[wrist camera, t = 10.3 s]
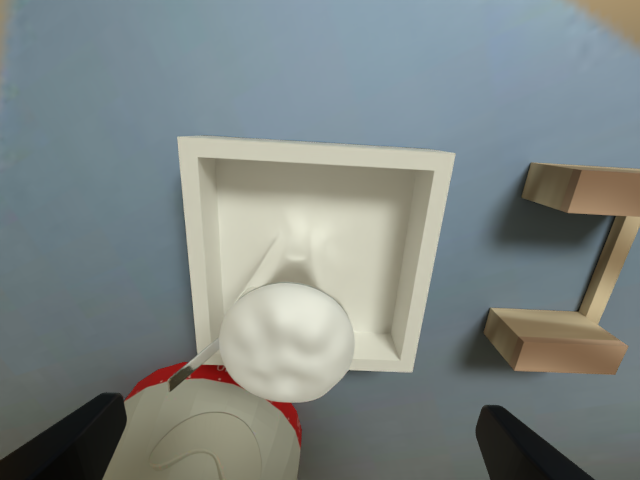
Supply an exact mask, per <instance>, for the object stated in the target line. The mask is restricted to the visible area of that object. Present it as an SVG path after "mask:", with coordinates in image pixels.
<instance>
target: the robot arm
mask: <svg viewBox="0 0 640 480" xmlns="http://www.w3.org/2000/svg"><path fill="white" fill-rule="evenodd" d="M126 424H127V414H126V409H125V405H124V400H123V396H122V395H121V394H120V393H102V394H100V395H98V396H97V397H95V398H94V399H92V400H91V401H89V402H88V403H86V404H85V405H83V406H82V407H80V408H79V409H77V410H75V411H74V412H72V413H71V414H69V415H68V416H66V417H65V418H63V419H62V420H60V421H59V422H57V423H56V424H54V425H53V426H51V427H50V428H48V429H47V430H45V431H44V432H42V433H41V434H39V435H38V436H36V437H35V438H33V439H32V440H30V441H29V442H27V443H26V444H24V445H23V446H21V447H20V448H18V449H17V450H15V451H14V452H12V453H10V454H9V455H7V456H6V457H4V458H3V459H1V460H0V480H102V479H103V477H104V475H105V473H106V470H107V468H108V466H109V464H110V461H111V459H112V457H113V455H114V452H115V450H116V448H117V446H118V443H119V441H120V439H121V437H122V434H123V432H124V430H125V427H126ZM476 438H477V441H478V444H479V447H480V450H481V453H482V456H483V459H484V462H485V465H486V468H487V471H488V474H489V477H490V480H595V479H593V478H592V477H591V476H590V475H588V474H587V473H586V472H585V471H583V470H582V469H581V468H579V467H578V466H577V465H576V464H574V463H573V462H572V461H571V460H569V459H568V458H567V457H566V456H564V455H563V454H562V453H560V452H559V451H558V450H557V449H555V448H554V447H553V446H552V445H550V444H549V443H548V442H547V441H545V440H544V439H543V438H542V437H540V436H539V435H538V434H536V433H535V432H534V431H533V430H531V429H530V428H529V427H528V426H526V425H525V424H524V423H523V422H521V421H520V420H519V419H517V418H516V417H515V416H514V415H512V414H511V413H510V412H509V411H507V410H506V409H505V408H503V407H502V406H499V405H484V406H483V407H482V409H481V412H480V416H479V419H478V422H477V425H476Z"/></svg>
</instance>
